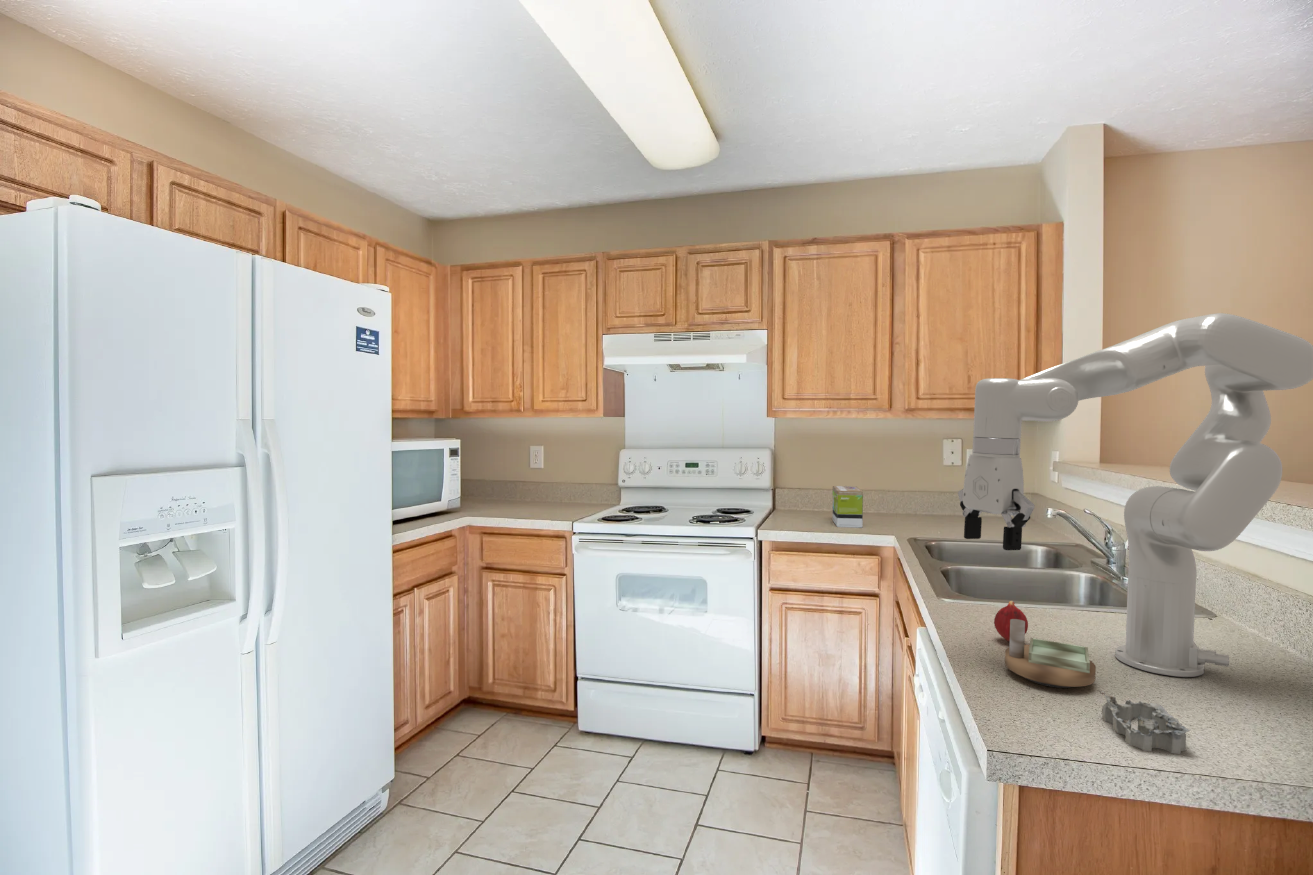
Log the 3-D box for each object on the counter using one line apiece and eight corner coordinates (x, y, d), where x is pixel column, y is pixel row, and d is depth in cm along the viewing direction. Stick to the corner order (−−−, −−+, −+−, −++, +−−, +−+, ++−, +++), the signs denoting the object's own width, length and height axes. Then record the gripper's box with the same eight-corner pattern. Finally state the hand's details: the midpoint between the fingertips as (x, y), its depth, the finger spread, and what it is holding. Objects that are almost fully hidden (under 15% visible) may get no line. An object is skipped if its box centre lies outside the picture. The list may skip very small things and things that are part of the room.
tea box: (831, 521, 267) (832, 485, 267) (856, 521, 266) (857, 485, 265) (836, 527, 252) (837, 489, 252) (863, 528, 251) (864, 490, 250)
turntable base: (1076, 674, 110) (1076, 669, 110) (1077, 692, 103) (1077, 685, 103) (1022, 665, 114) (1022, 659, 114) (1020, 680, 108) (1020, 674, 108)
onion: (1032, 648, 123) (1033, 606, 122) (999, 646, 124) (1000, 604, 123) (1021, 638, 128) (1022, 598, 128) (989, 636, 129) (991, 596, 129)
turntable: (1093, 665, 111) (1095, 619, 111) (1097, 693, 100) (1099, 642, 100) (1007, 650, 118) (1008, 607, 118) (1002, 674, 107) (1003, 626, 106)
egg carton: (1095, 715, 96) (1096, 688, 96) (1154, 721, 94) (1155, 694, 94) (1127, 750, 86) (1129, 720, 86) (1194, 759, 84) (1195, 727, 84)
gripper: (945, 445, 123) (941, 535, 123) (1014, 451, 106) (1009, 555, 106) (979, 445, 124) (975, 534, 125) (1053, 451, 107) (1048, 554, 108)
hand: (991, 543), depth 116 cm, fingers open, 9 cm apart
